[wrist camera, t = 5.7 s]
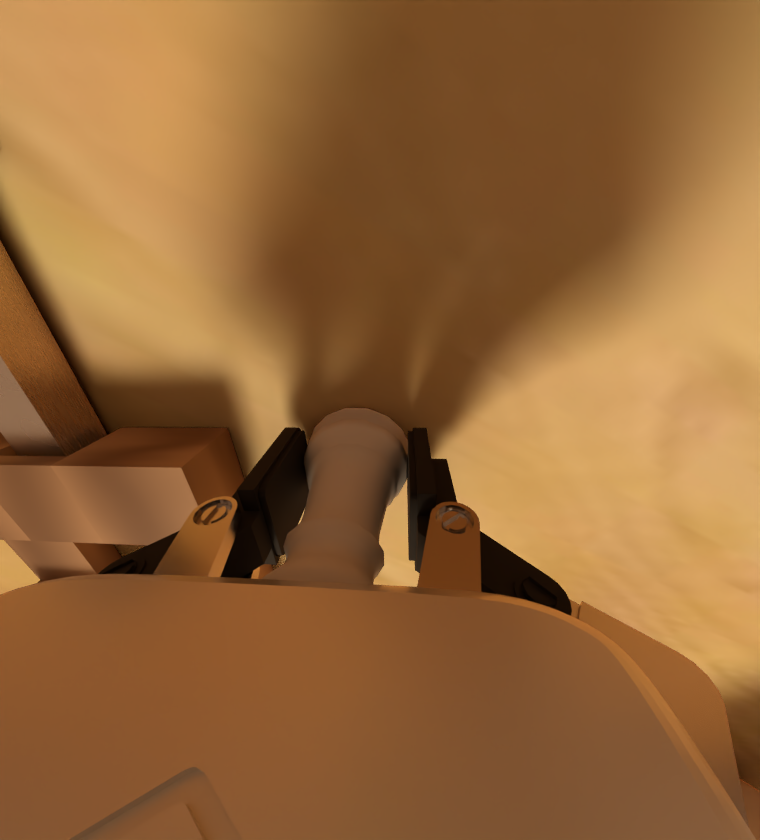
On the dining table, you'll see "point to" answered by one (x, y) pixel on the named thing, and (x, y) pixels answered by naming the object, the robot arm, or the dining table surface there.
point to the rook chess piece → (346, 498)
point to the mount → (110, 495)
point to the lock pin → (37, 379)
